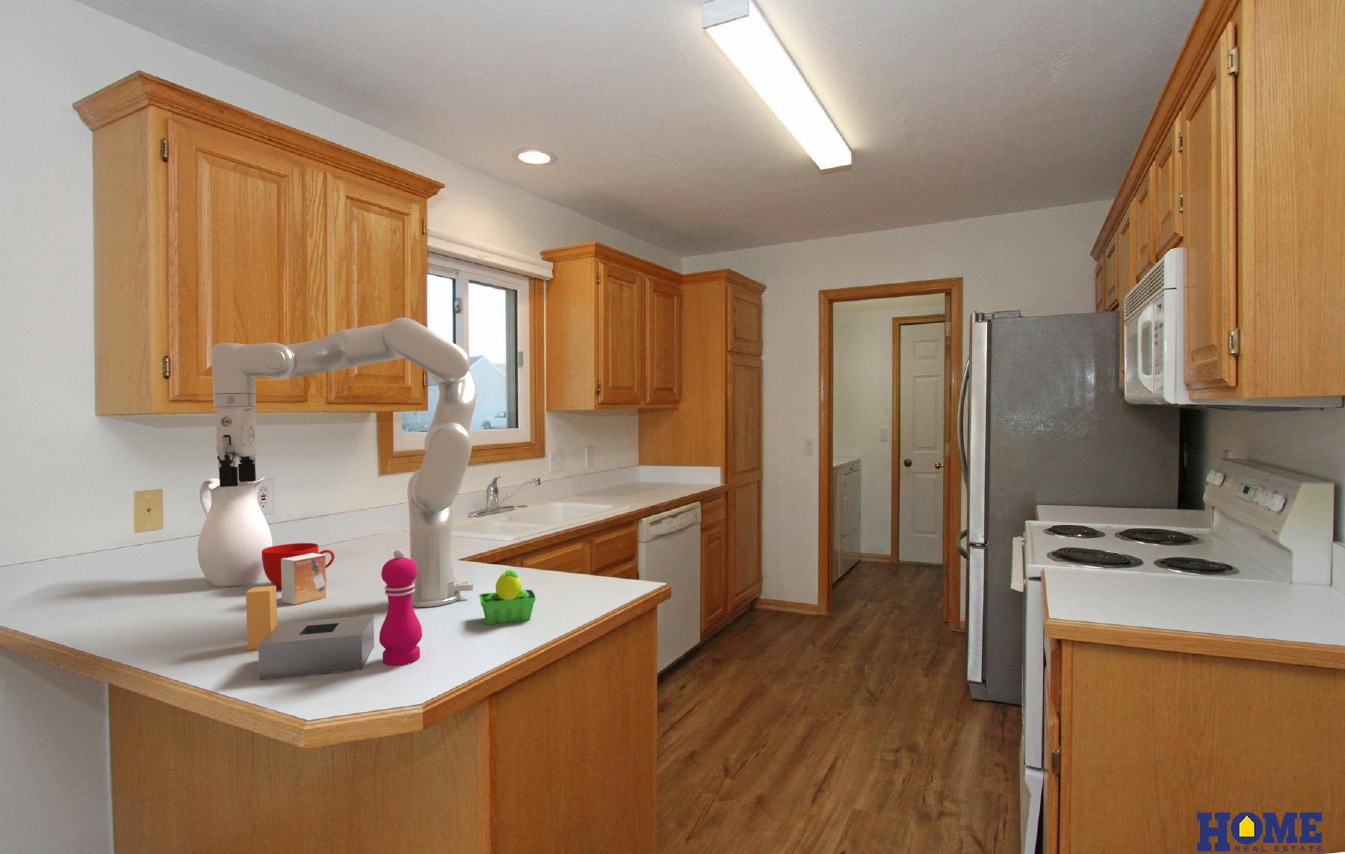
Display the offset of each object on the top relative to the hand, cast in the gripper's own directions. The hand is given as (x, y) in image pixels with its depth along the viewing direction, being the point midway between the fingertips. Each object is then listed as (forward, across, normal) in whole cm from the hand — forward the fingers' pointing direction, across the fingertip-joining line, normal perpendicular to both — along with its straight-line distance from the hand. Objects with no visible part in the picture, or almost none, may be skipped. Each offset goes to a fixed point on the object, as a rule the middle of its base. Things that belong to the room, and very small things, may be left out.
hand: (238, 484), depth 144 cm
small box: (+30, +18, -6) cm, 36 cm away
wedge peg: (+30, -16, -8) cm, 35 cm away
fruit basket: (+31, -11, -54) cm, 64 cm away
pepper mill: (+31, -31, -36) cm, 56 cm away
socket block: (+30, -28, -22) cm, 47 cm away
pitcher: (+30, +46, +19) cm, 58 cm away
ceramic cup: (+30, +34, -1) cm, 46 cm away
